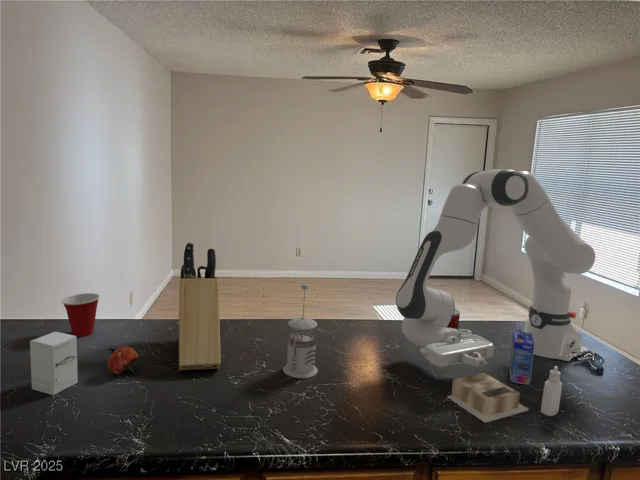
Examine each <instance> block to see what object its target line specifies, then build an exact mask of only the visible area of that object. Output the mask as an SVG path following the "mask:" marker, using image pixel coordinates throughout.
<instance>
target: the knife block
mask: <svg viewBox="0 0 640 480" xmlns="http://www.w3.org/2000/svg"><path fill="white" fill-rule="evenodd" d="M194 247H195V244H194V243H193V242H187V243H186V245H185V249H184V253H183V264H182V266H181V269H180V280H179V296H178V297H179V301H178V302H179V305H178V306H179V308H178V371H188V370H189V371H190V370H211V369H212V370H213V369H220V368H221V364H222V363H221V362H222V360H221V359H222V357H221V331H220V327H221V326H220V325H221V324H220V321H221V320H220V300H219V298H220V297H219V279H218V277H216V269H217V268H216V266H217V265H216V264H217V259H216V258H217V257H216V250H215V249H214V248H209V249H208V250H207V252H206V255H207V257H206V259H207V260H206V261H207V263H206V266H203V265H201V266H199V267H198V268H197V269H196V268H195V260H194V259H195V257H194V255H195V254H194V250H195V248H194ZM201 270H204V278H202V274H201V273H202V272H201ZM196 271H197V272H196Z"/></svg>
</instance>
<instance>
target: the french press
mask: <svg viewBox="0 0 640 480" xmlns="http://www.w3.org/2000/svg"><path fill="white" fill-rule="evenodd" d="M300 288H301V289H302V290H304V291H303V301H305V299H306V298H305V297H306V290H309V285H308V284H306V283H303V284H302V285H301V287H300ZM287 324H288V326H289V328H291V329H294V330H299V331H301V332H296V333H294V332H292V333H291V334H290V335H289V336H288V337H289V340H288V341H287V359H286V361H287V362H286V364H285V366H284V367H283V368H282V370H283V373H285V375H287V376H290V377H291V378H295V379H296V378H297V379H306V378H312V377H314V376H316V375H317V373H318V368H317V367H316V365H315V362H316V361H315V359H316V352H315V351H316V347H317V346H316V344H317V343H316V341H315V339H316V337H315V336H314V335H312V334H310V333H308V332H307V333H306V332H304V331H307V330H313V329H315V328H317V327H318V323H317V321H315V320H314V319H312V318H309V317H305V304H303V310H302V316H301V317H300V316H298V317H295V318H292V319H291V320H289V321H288V322H287ZM292 345H293V346H292ZM299 345H300V346H299Z"/></svg>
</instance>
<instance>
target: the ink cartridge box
mask: <svg viewBox="0 0 640 480" xmlns="http://www.w3.org/2000/svg"><path fill="white" fill-rule="evenodd" d="M510 349H511V350H510V359H509V369H508V370H509V380H510V381H509V382H510V383H515V384H520V385H526V386H531V380H532V370H533V361H534V354H533V353H534V341H533V337H532V333H527V332H523V331H522V329H521V328H520V326H518V330H513V331H512V339H511V348H510Z"/></svg>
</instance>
